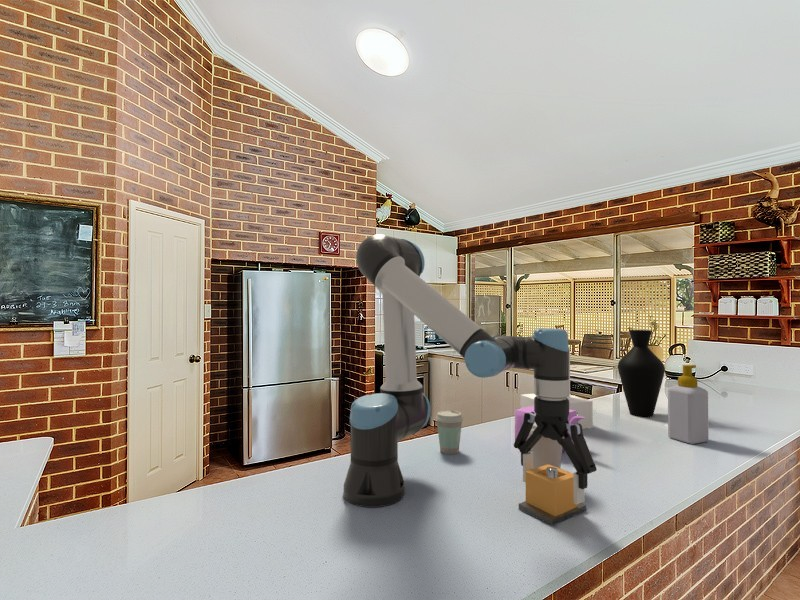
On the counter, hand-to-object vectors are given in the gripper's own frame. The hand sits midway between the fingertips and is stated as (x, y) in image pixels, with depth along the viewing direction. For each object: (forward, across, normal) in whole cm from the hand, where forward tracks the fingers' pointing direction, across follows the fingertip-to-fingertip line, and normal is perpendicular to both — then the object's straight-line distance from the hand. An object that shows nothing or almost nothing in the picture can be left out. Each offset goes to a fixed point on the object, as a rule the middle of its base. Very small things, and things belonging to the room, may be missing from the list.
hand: (552, 491), depth 98 cm
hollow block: (+3, 0, 0) cm, 3 cm away
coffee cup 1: (+4, +43, -6) cm, 44 cm away
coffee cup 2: (+4, +11, -12) cm, 17 cm away
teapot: (+4, +28, -35) cm, 45 cm away
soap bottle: (+4, +6, -80) cm, 80 cm away
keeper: (+4, 0, 0) cm, 4 cm away
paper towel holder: (+4, +44, -60) cm, 75 cm away
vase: (+4, +32, -100) cm, 105 cm away
